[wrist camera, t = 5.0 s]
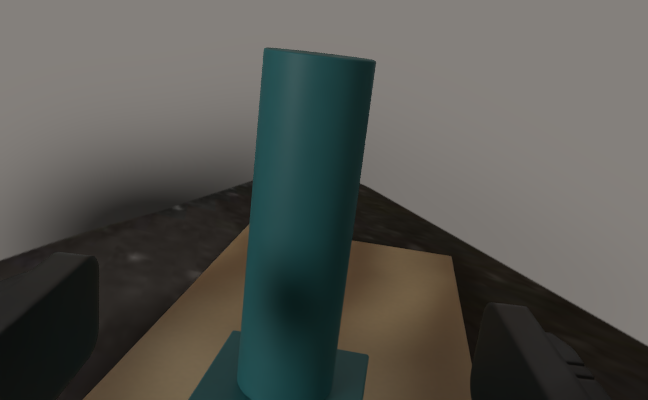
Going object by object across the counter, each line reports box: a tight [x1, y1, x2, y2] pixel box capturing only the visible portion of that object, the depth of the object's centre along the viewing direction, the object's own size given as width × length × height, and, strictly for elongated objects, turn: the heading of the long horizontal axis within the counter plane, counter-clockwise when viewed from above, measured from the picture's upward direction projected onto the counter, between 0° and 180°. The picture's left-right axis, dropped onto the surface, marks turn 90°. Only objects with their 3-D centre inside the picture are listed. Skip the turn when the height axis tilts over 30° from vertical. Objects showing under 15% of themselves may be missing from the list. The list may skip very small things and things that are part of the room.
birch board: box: [83, 224, 472, 400], centre depth 26 cm, size 14×26×1 cm, turn 171°
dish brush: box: [188, 48, 376, 400], centre depth 17 cm, size 5×5×12 cm
